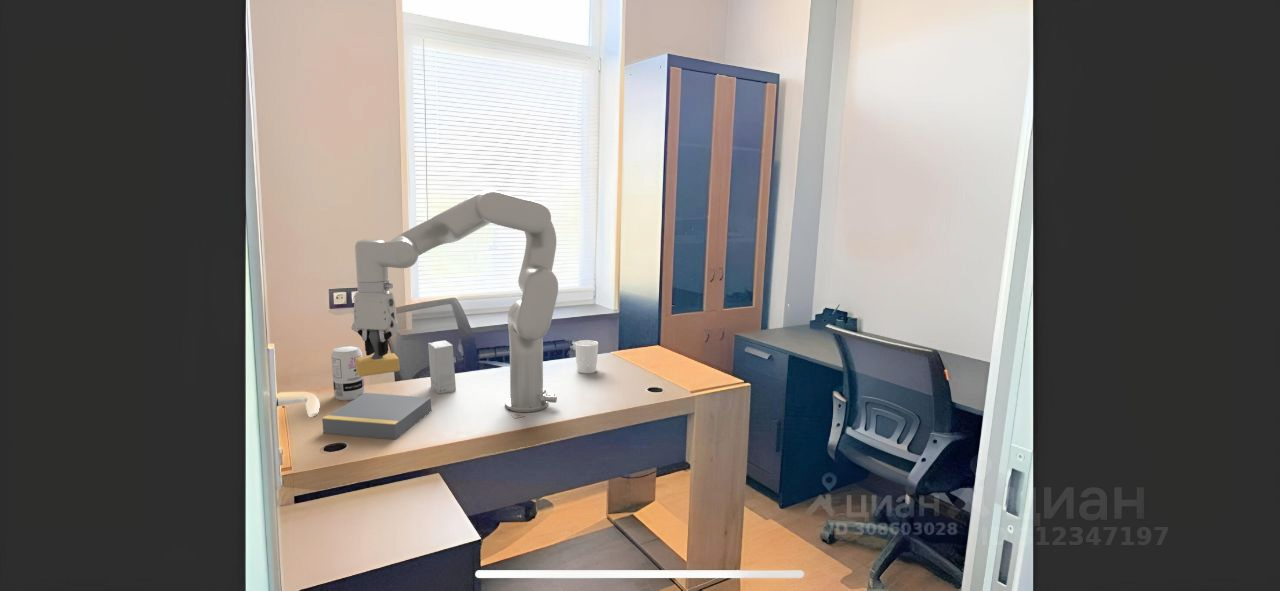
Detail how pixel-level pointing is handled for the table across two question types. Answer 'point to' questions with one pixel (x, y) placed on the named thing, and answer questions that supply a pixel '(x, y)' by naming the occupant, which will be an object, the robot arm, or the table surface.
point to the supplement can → (346, 373)
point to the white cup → (586, 356)
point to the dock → (377, 416)
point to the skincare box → (442, 366)
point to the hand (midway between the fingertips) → (377, 353)
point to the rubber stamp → (376, 359)
